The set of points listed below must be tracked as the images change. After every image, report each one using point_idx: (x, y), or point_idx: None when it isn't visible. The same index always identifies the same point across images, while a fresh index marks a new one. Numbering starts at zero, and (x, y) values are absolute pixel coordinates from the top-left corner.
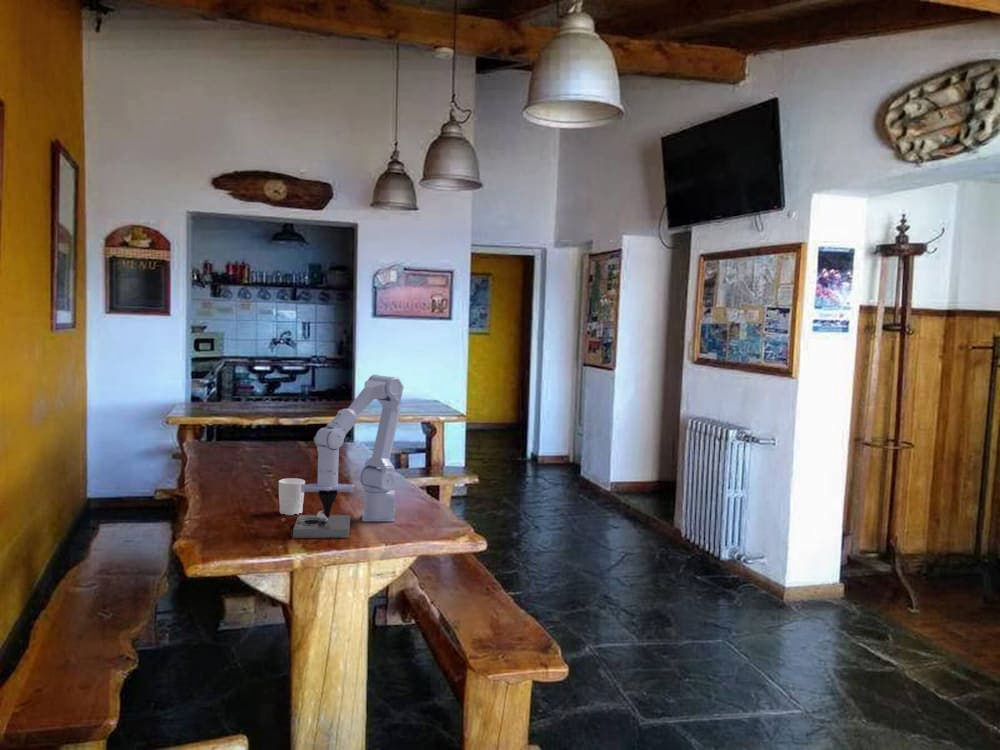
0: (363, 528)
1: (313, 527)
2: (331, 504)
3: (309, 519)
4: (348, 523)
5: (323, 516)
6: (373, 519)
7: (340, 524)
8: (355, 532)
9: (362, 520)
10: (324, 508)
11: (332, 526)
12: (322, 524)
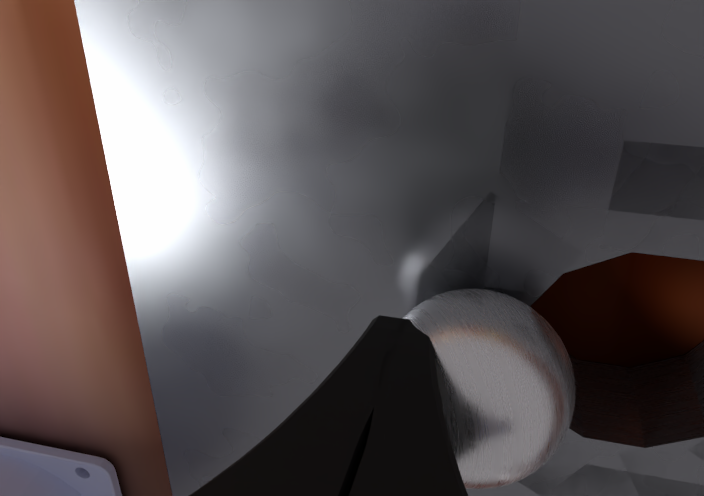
0: (58, 279)
1: (668, 50)
2: (258, 457)
3: (660, 465)
4: (129, 221)
5: (465, 323)
6: (18, 461)
7: (224, 186)
8: (102, 149)
9: (109, 468)
10: (433, 425)
11: (330, 87)
12: (490, 212)
